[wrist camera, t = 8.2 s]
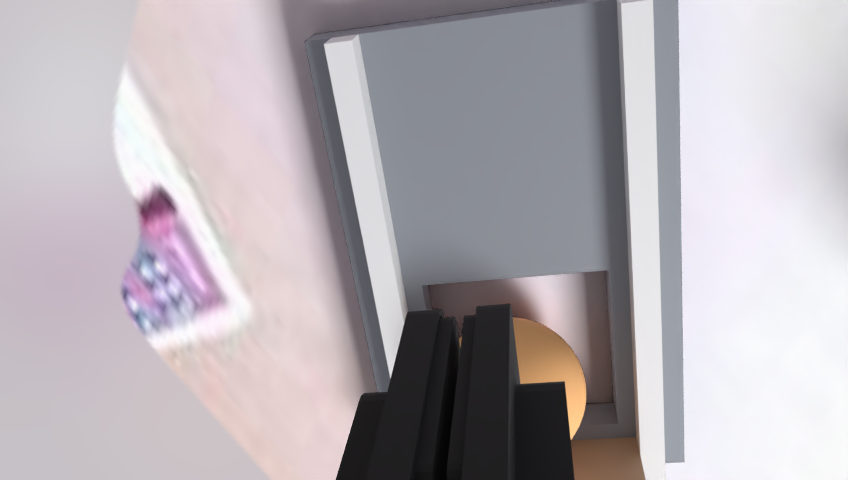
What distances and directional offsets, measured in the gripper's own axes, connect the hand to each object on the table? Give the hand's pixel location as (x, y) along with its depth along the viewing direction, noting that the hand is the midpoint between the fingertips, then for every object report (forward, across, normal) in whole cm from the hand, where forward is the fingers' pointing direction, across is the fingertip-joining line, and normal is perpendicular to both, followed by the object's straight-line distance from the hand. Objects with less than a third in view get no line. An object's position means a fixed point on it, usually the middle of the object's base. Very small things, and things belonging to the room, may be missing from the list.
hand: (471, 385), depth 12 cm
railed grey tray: (+18, 0, +7) cm, 20 cm away
